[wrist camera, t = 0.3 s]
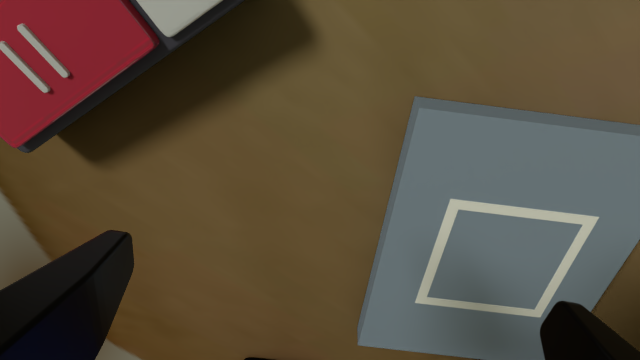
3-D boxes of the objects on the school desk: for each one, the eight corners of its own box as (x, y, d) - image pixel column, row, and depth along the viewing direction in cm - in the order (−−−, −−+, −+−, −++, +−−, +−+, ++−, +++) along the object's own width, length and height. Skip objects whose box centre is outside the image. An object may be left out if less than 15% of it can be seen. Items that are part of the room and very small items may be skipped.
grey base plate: (544, 349, 32) (553, 368, 30) (357, 327, 31) (358, 345, 30) (683, 130, 22) (704, 144, 21) (414, 96, 22) (419, 108, 20)
